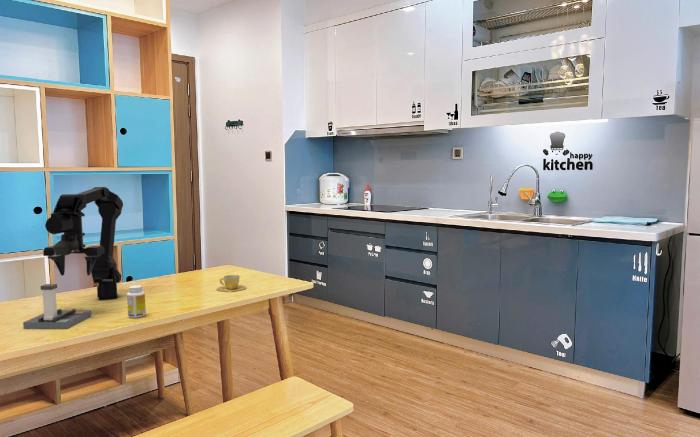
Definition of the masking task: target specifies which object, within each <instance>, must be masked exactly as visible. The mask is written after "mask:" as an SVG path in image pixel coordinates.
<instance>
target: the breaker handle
mask: <svg viewBox="0 0 700 437" xmlns="http://www.w3.org/2000/svg"><path fill="white" fill-rule="evenodd" d="M39 288H40V291H42V306H43V313H44V320H53V318H55V317H57V316H58V315H57V310H58V306H57V291H56V289H58V284H57V283H45V284H43V285H40V287H39Z"/></svg>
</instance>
